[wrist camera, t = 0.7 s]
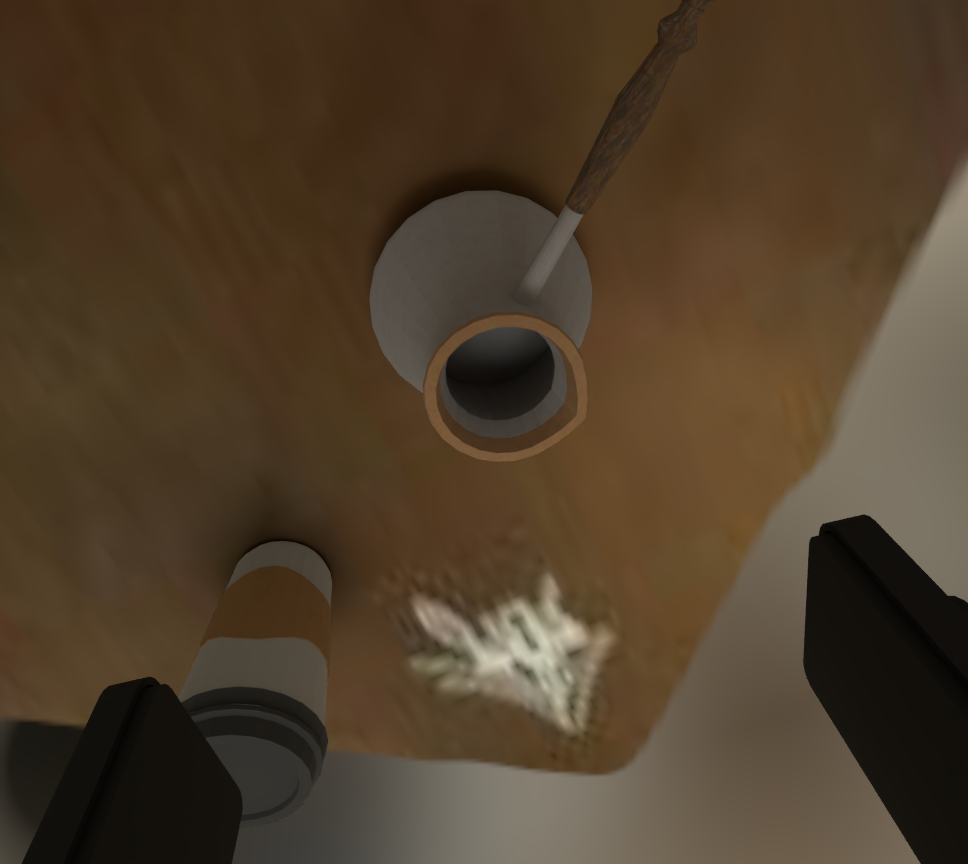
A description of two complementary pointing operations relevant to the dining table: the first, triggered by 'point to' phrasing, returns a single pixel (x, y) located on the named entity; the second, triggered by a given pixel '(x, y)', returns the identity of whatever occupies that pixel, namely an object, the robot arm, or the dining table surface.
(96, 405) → the dining table surface
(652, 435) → the dining table surface
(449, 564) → the dining table surface
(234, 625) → the coffee cup
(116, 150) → the dining table surface
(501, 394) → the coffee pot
